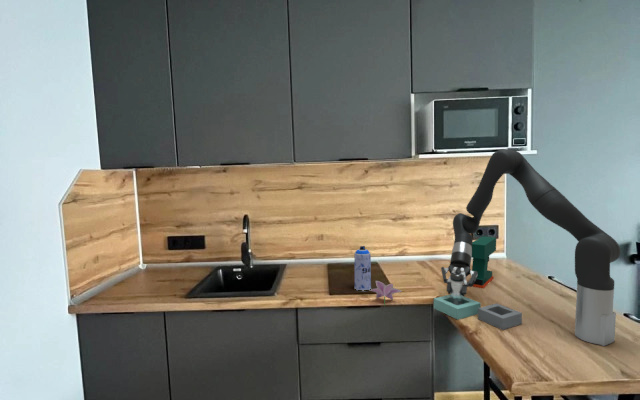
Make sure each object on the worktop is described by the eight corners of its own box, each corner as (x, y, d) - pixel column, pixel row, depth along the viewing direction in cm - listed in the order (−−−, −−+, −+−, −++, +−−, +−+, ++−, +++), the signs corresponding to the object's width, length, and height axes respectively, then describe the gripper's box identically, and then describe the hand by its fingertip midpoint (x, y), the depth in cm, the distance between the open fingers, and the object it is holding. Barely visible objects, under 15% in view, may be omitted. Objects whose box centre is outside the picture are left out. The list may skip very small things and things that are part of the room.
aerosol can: (360, 292, 156) (360, 248, 155) (351, 287, 163) (350, 245, 162) (374, 289, 160) (374, 246, 158) (364, 284, 167) (364, 243, 165)
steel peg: (466, 307, 133) (466, 274, 132) (456, 310, 131) (457, 276, 130) (456, 303, 138) (456, 271, 136) (447, 305, 136) (447, 273, 134)
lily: (405, 306, 142) (403, 283, 146) (390, 303, 134) (389, 278, 138) (380, 308, 149) (379, 286, 153) (365, 305, 141) (364, 282, 145)
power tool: (485, 269, 187) (486, 233, 186) (499, 271, 183) (500, 234, 181) (467, 285, 163) (468, 243, 161) (483, 288, 158) (484, 245, 157)
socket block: (521, 323, 122) (522, 312, 122) (502, 329, 118) (503, 318, 118) (496, 313, 131) (496, 303, 131) (477, 318, 127) (478, 308, 126)
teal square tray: (480, 313, 132) (480, 303, 131) (457, 319, 127) (457, 309, 126) (455, 302, 142) (455, 293, 142) (433, 308, 137) (433, 298, 137)
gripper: (441, 248, 143) (435, 286, 133) (479, 252, 135) (475, 292, 126) (444, 258, 148) (438, 295, 138) (481, 262, 140) (477, 301, 131)
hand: (456, 293), depth 132 cm, fingers closed on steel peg, 4 cm apart
